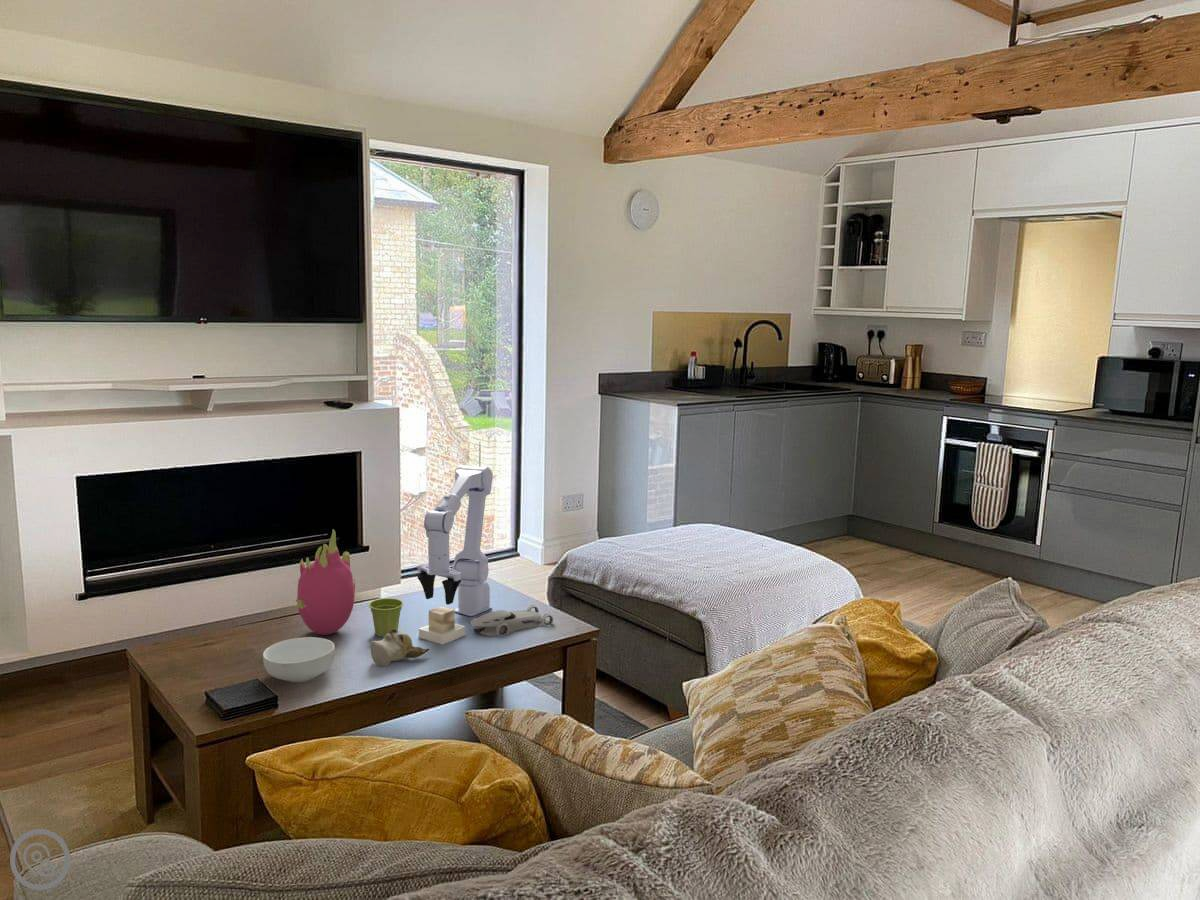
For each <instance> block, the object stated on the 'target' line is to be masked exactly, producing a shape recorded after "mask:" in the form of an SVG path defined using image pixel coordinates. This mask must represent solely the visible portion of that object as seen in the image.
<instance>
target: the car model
mask: <svg viewBox="0 0 1200 900" xmlns="http://www.w3.org/2000/svg"><path fill="white" fill-rule="evenodd" d="M532 609H534V610H533V611H532ZM547 618H549V619H547ZM553 623H554V617H553V615H552V614H551V613H544V614H543V615H541V613H540V610H539V607H538V606H537V605H534V604H530V605H529V606H528V607H527V608H526V610H513V611H511V610H510V611H507V610H504V609H499V610H494V611H492V612H483V614H481V616H478V617H476V618H474V619H472V620H471V621H470V624H471V625H473V626H472V628H473V630H475V631H480V632H479V634H480V635H483V636H485V637H486V636H487V637H499V636H500V637H501V636H505V635H510V634H511V633H514V632H517V631H521V630H525V629H530V628H535V627H545V626H551V625H553Z"/></svg>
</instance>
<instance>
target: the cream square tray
mask: <svg viewBox="0 0 1200 900" xmlns="http://www.w3.org/2000/svg"><path fill="white" fill-rule="evenodd" d="M465 635H466V626H465V625H461V624H457V623H455V627H454V628H451V629H449V630H446V631H443V632H440V631H436V630H433V629H430V628H429V624H428V625H425V626H422V627H420V628H418V638H420V639H421V640H422V639H423V640H426V641H430V642H433V643H436V644H439V645H445V644H447V643H451V642H452V641H454V640H457V639H460V638H463V636H465Z"/></svg>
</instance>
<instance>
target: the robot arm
mask: <svg viewBox="0 0 1200 900" xmlns="http://www.w3.org/2000/svg"><path fill="white" fill-rule="evenodd" d="M492 485H493V473H492V470H491V468H490V467H489V466H473V465H472V466H471V465H462V464H460V465H458V466H457V468H456V470H455V472H454V484H453V485H452V487H451V490H450V491H449V493H446V494H443V496H442V497H441V499H440V500H439V501H438V502H437V504H436V506H435V508H434V509H433V510H430V511H428V512H427V513H426V514H425V516H424V522H423V527H424V529H425V536H426V538H427V541H428V542H427V543H428V546H427V547H428V548H427V550H428V556H427V557H428V558H427V559H428V563H427V564H425V563H421V564H418V565H417V572H418V573H420V574H417V576H416V578H417V579H418V581H419V582H420V584H421V586H422V590H423V593H424V596H425V599H426V600H429V599H432V598H434V591H435V589H434V588H435V580H436V576H438V577H441V578H446V579H444V580H442V581H441V584H442V586H443V589H444V597H445V604H446V605H448V606H449V605H451V604H453V603H454V600H455V595H456V593H458V594H457V596H458V600H457V601H458V602H457V603H458V604H457V605H458V607H455V608H452V609H453V610H455V613H457V614H462V615H464V616H469V617H474V616H476V615H478V614H481V613H485V612H486V611H489V610H491V609H492V608H493V607H492V606H490V605H491V604H490V603H491V602H490V597H491V596H490V595H491V593H490V592H491V590H490V589H491V588H490V584H489V582H488V581H487V579H488V577H489V571H490V570H489V559H488V557H487V556H486V554H485V553H483V552H482V550H481V543H482V534H483V526H484V517H485V508H486V499H487V496H489V495H491V493H492V488H493V487H492ZM465 495H467V497H468V505H467V514H466V524H465V533H464V534H465V535H464V544H463V549H461V551H460V552H458V553H457V554H456V555H455V556H454V560H453V564H452V568H451V567H450V531H451V530H452V528H453V525H454V521H455V516H456V515H457V513H458V512H459V509H460V508H461V507H462V506H461V505H462V503H461V499H463V497H464V496H465ZM467 559H468V560H467ZM457 589H458V591H457Z"/></svg>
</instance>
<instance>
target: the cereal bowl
mask: <svg viewBox="0 0 1200 900" xmlns="http://www.w3.org/2000/svg"><path fill="white" fill-rule="evenodd" d="M335 651H336V650H335V643H334V642H333V641H331V640H329V639H327V638H323V637H313V636H308V637H295V638H289V639H286V640H282V641H278V642H276V643H274V644H271V645H270V646H268V647H266V648H265V650H264V651H263V653H262V661H263V665H264V669H265V670H266V672H267V673H268V674H269V675H270V676H271V677H273V678H275V679H279V680H281V681H282V680H283V681H286V682H288V681H289V683H302V682H308V681H311V680H314V678H316V677H317V676H318V675H321V674H323V673H324V672H326V671H327V670H329V668H330V667H331V666H332V664H333V662H334V659H335V654H336V653H335Z"/></svg>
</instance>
